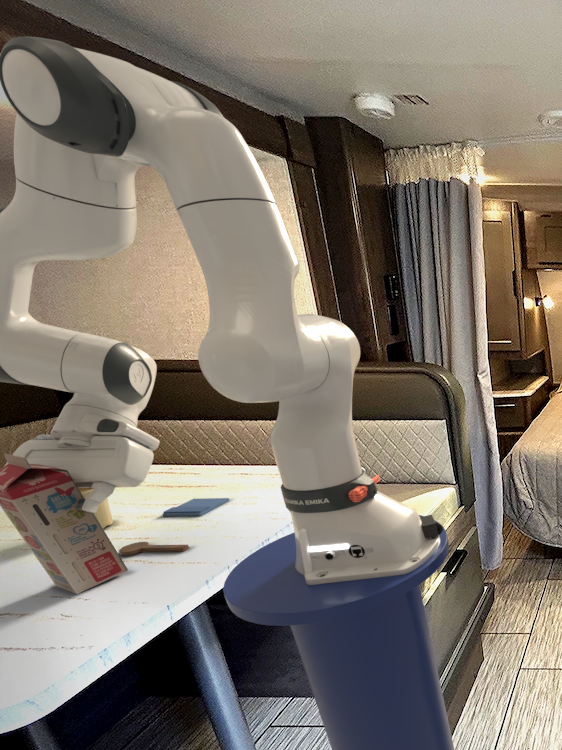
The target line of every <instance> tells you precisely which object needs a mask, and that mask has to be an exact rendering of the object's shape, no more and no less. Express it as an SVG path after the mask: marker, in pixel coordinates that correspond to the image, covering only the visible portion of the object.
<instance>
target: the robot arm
mask: <svg viewBox="0 0 562 750" xmlns="http://www.w3.org/2000/svg"><path fill="white" fill-rule="evenodd" d="M0 85H1V87H2V90H3V93H4V95H5V97H6V99H7V100H8V102H9V104H10V105H11V107H12V108H13V109H14V111H15V112H16V116H15V121H14V122H15V123H14V131H13V164H14V174H15V191H14V194H13V197H12V200H11V201H10V203H9V204H8V205H7V206H0V383H8V384H15V385H24V386H36V387H41V388H45V389H51V390H56V391H62V392H68V393H73V396H72V398H71V399H70V400H69V401H68V402H66V403H65V404H64V406H63V408H62V410H61V412H60V413H59V415H58V417H57V420H56V421H55V423H54V425H53V427H52V429H51V430H50V434H48V433H47V434H45V433H43V434H38V435H36V437H34V438H32V439H29V440H27V441H24V442H23V443H21V444H20V445H19V446H18V447H17V448H16V449H15V450H14V452H13V453H12V455H14V456H18V457H23V458H26V459H27V461H28V463H29V464H40V465H46V466H51V467H55V468H59V469H63V470H67V471H68V472H69V474H70V476H71V477H72V479H73V481H74V482H75V484H76V486H77V487H78V488H92V489H94V490H93V491H92V492H91V493H90V494H89V495H88V496H87V497H86V498H85V499H80V500H79V502H78V505H77V506H76V510H78V511H81V512H83V513H95V512H96V511H97V509H98V507H99V505H100V503H102V502H103V501H104V500H105V499H106V498H107V499H108V498H109V497H110V496H111V495H112V494H114V491H115V489H116V488H137V487H138V486H140V485H141V484H142V483H143V482H144V481H145V480H146V479H147V477H148V475H149V472H150V470H151V467H152V465H153V462H154V458H155V457H154V456H155V455H154V452H153V451H155V450H157V449H158V448H159V446H160V444H161V442H160V440H159V439H158V438H157V437H155V436H154V435H151V434H149V433H148V432H146V431H144V430H142V429H140V428H138V425H139V423H138V418H139V416H140V414H141V413H142V412H143V411H144V410H145V409H146V408H147V405H148V403H149V401H150V398H151V396H152V393H153V389H154V386H155V382H156V378H157V371H158V365H157V363H156V361H155V359H154V358H153V357H152V356H151V355H150V354H148V353H147V352H145V351H143V349H140V348H138V347H136V346H133V345H130V344H129V343H127V342H124V341H120V340H117V339H114V338H109V337H106V336H101V335H98V334H92V333H88V332H82V331H79V330H78V331H77V330H73V329H70V328H64V327H60V326H56V325H51V324H47V323H44V322H41V321H39V320H37V319H35V318H34V317H33V316H32V315H31V314H30V312H29V307H30V301H31V293H32V286H33V277H34V272H35V268H36V266H37V265H38V264H39V263H40V262H45V261H48V262H49V261H90V260H100V259H105V258H109V257H113V256H116V255H118V254H119V255H120V254H121V253H123V252H124V251H125V250H127V249H128V248H129V247H130V246H131V245H133V243H134V241H135V239H136V234H137V228H138V227H137V225H138V211H137V195H136V181H135V180H136V174H137V172H138V171H139V169H140V168H142V167H149V168H150V167H151V168H153V169H155V171H157V173H158V174H159V176H160V177H161V179H162V181H163V182H164V184H165V187H166V189H167V191H168V194H169V196H170V199H171V201H172V204H173V207H174V208H175V211H176V213H177V215H178V217H179V219H180V222H181V224H182V226H183V228H184V231H185V233H186V235H187V237H188V240H189V242H190V244H191V246H192V249H193V251H194V253H195V256H196V258H197V261H198V263H199V266H200V268H201V271H202V274H203V277H204V280H205V285H206V290H207V297H208V306H209V307H208V308H209V321H208V328H207V331H206V333H205V336H204V337H203V339H201V342H200V345H199V348H198V351H197V352H198V355H197V357H198V364H199V367H200V370H201V373H202V375H203V377H204V379H205V380H206V381H207V382H208V384H209V385H210V386H211V387H212V388H213V389H214V390H215V391H216V392H218V393H219V394H221V395H222V396H223V397H225V398H226V399H229V400H232V401H235V402H238V403H243V404H244V403H245V404H258V403H261V404H262V403H263V404H264V403H275V402H276V403H277V402H279V403H278V411H277V417H276V420H275V423H274V425H273V427H272V428H271V431H270V436H269V444H270V447H271V450H272V453H273V457H274V460H275V463H276V467H277V469H278V473H279V477H280V479H281V485H280V491H281V494H282V499H283V502H284V505H285V508H286V509H287V510H288V511H289V513H290V517H291V521H292V526H293V531H294V532H293V533H295V541H296V563H295V568H296V570H297V571H298V572H299V573H301V574H302V575H304V576H305V582H306V584H308V585H317V584H325V583H334V582H343V581H352V580H361V579H370V578H378V577H387V576H396V575H403V574H407V573H409V572H411V571H413V570H415V569H417V568H418V567H420V566H421V565H422V564H424V563H425V562H426V561H427V560H428V559H429V558H430V557H431V556H432V555H433V553H434V552H435V551H436V549H437V548H438V546H439V543H440V536H439V535H440V534H441V533H442V531H443V527H444V526H443V524H441V523H440V522H439V523H437V522H438V521H437V522H435V521H436V520H435V519H434V516H433V515H432V514H428V515H422V516H423V517H419V515H420V514H419V513H418V512H417V511H416V509H414V508H413V507H410V506H408V505H406V504H403V503H402V502H400V501H399V500H396V499H395V498H392V497H390V496H388V495H386V494H384V493H383V492H381V491H380V490H378V487H377V486H376V485H377V484H378V483H379V482H380V481H381V480H382V479H381V478H380V474H376V475H375V476H374V477H370V476H369V474H368V473H367V472H366V471H365V469H363V467H362V464H361V460H360V454H359V450H358V446H357V442H356V437H355V432H354V426H353V391H354V390H353V389H354V376H355V372H356V369H357V366H358V364H359V362H360V358H361V346H360V343H359V340H358V338H357V336H356V335H355V333H354V331H353V330H351V328H350V327H348V326H347V325H346V324H344V323H343V322H342V321H340V320H338V319H334V318H332V317H327V316H324V315H319V314H314V313H302V314H301V313H300V314H298V312H297V307H296V306H297V305H296V300H295V298H296V297H295V282H296V281H295V280H296V278H297V276H298V274H299V271H300V262H299V261H300V260H299V258H298V256H297V253H296V251H295V248H294V245H293V243H292V240H291V237H290V235H289V232H288V230H287V228H286V224H285V222H284V220H283V217H282V215H281V212H280V209H279V206H278V204H277V201H276V199H275V197H274V194H273V192H272V189H271V188H270V186H269V185H270V184H269V183H268V181H267V179H266V176H265V175H264V172H263V170H262V169H261V167H260V165H259V163H258V161H257V159H256V157H255V156H254V154H253V152H252V150H251V148H250V147H249V145H248V143H247V142H246V140H245V138H244V136H243V135H242V134H241V132H240V131H239V129H238V128H237V127H236V126H235V125H234V124H233V123H232V122H230V121H229V120H228V119H226V118H225V117H224V115H223V114H222V112H221V111H220V110H219V108H218V107H217V106H216V104H214V103H213V102H212V101H210V99H208V98H207V97H205V96H204V95H203V94H201V93H199V92H198V91H197V90H194V89H193V88H191V87H189V86H187V85H186V84H183V83H180V82H179V81H174V80H168V79H167V78H164V77H162V76H161V75H158V74H156V73H154V72H151V71H148V70H146V69H143V68H140V67H138V66H135V65H134V64H132V63H130V62H128V61H125V60H123V59H120V58H117V57H113V56H110V55H106V54H104V53H103V54H102V53H100V52H96V51H93V50H92V51H91V50H87V49H83V48H78V47H74V46H73V45H70V44H68V43H66V42H64V41H61V40H57V39H51V38H45V37H39V36H16V37H13V38H11V39H9V40H8V41H7V42H6V43H4V45H3V47H2V49H1V51H0ZM7 464H8V463H7V462H6V463H5V464H4V466H6V465H7Z"/></svg>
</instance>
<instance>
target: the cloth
mask: <svg viewBox="0 0 562 750" xmlns="http://www.w3.org/2000/svg"><path fill="white" fill-rule="evenodd" d="M229 501H230V498H229V497H219V498H218V497H216V498H214V497H211V498H209V497H208V498H192V499H190V500H188V501H186V502H184V503H182V504H180V505H178V506H173V507H171V508H169V509H166V510H164V511H163V513H162V517H202V516H203V515H205V514H208V513H209V512H211V511H212V510H215V509H217V508H218V507H220V506H222V505H224V504H226V503H227V502H229Z"/></svg>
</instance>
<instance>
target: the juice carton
mask: <svg viewBox="0 0 562 750" xmlns="http://www.w3.org/2000/svg"><path fill="white" fill-rule="evenodd" d="M2 455H3V457H4V458H5V460H6V463H8V464H7V465H6V466H5V465H4V466H3V467H1V469H0V508H1V509H2V511H3V512H4V514H5V515H6V516H7V518H8V519H9V521H10V522H11V524H12V525H13V526H14V528H15V529H16V531H17V532H18V534H19V535H20V537H21V538H22V540H23V541H24V542H25V544H26V545H27V547H28V548H29V550H30V551H31V552H32V554H33V555H34V557H35V558H36V560H37V561H38V562H39V564H40V565H41V567H42V568H43V569H44V571H45V572H46V574H47V575H48V576H49V578H50V579H51V581H52V582H53V584H54V585H55V587H58V588H60V589H63V590H66V591H68V592H70V593H73V594H75V595H79V594H81V593H83V592H85V591H87V590H89V589H91V588H93V587H96V586H98V585H100V584H102V583H104V582H106V581H108V580H111V579H113V578H115V577H118V576H119V575H122V574H124V573H127V572H128V571H129V569H128V567H127V566H126V564H125V563H124V561H123V559H122V557H121V555H120V553H119V552H118V551H117V550H116V548H115V546H114V544H113V543H112V542H111V540H110V538H109V536H108V535H107V533H106V531H105V529H103V528H102V527H101V525H100V523H99V522H98V520H97V518H96V517H95V515H94V513H83V512H81V511H78V510H76V506H77V505H78V502H79V500H80V499H84V497H83V495H82V494H81V492H80V490H79V489H78V487H77V486H76V484H75V482H74V481H73V479H72V477H71V476H70V474H69V472H68V471H67V470H63V469H59V468H55V467H51V466H46V465H40V464H29V463H28V461H27V459H26V458H23V457H18V456H14V455H13V454H10V453H5V452H3V453H2Z"/></svg>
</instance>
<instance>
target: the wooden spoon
mask: <svg viewBox="0 0 562 750" xmlns="http://www.w3.org/2000/svg"><path fill="white" fill-rule="evenodd" d="M189 549H190V546H189V544H150V543H149V542H148V541H137V542H132V543H130V544H127V545H125V546H122V547H121V548H119V549H118V554H119V556H122V557H128V556H129V557H130V556H135V555H138V554H141V553H155V552H156V553H157V552H158V553H159V552H164V553H165V552H166V553H167V552H186V551H187V550H189Z"/></svg>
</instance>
